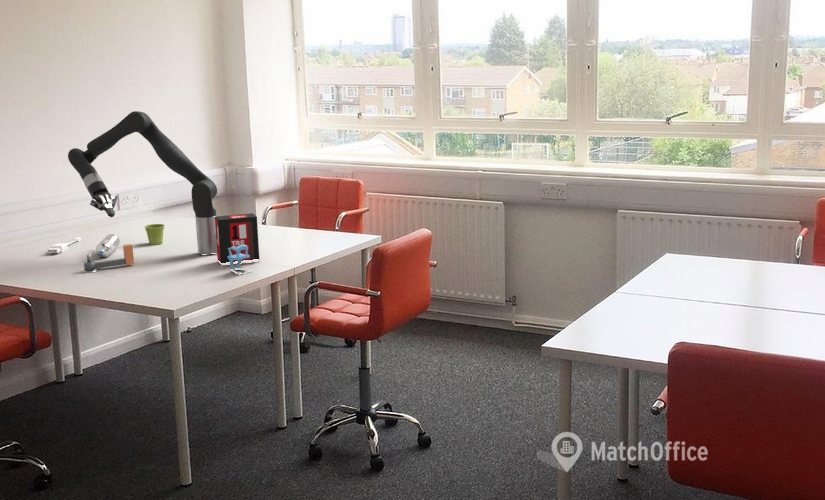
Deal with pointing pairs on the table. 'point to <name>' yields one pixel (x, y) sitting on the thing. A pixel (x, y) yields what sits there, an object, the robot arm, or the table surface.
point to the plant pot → (155, 233)
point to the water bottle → (107, 245)
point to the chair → (237, 255)
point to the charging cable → (61, 246)
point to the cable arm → (126, 260)
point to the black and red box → (236, 235)
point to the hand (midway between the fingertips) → (112, 215)
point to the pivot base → (89, 262)
